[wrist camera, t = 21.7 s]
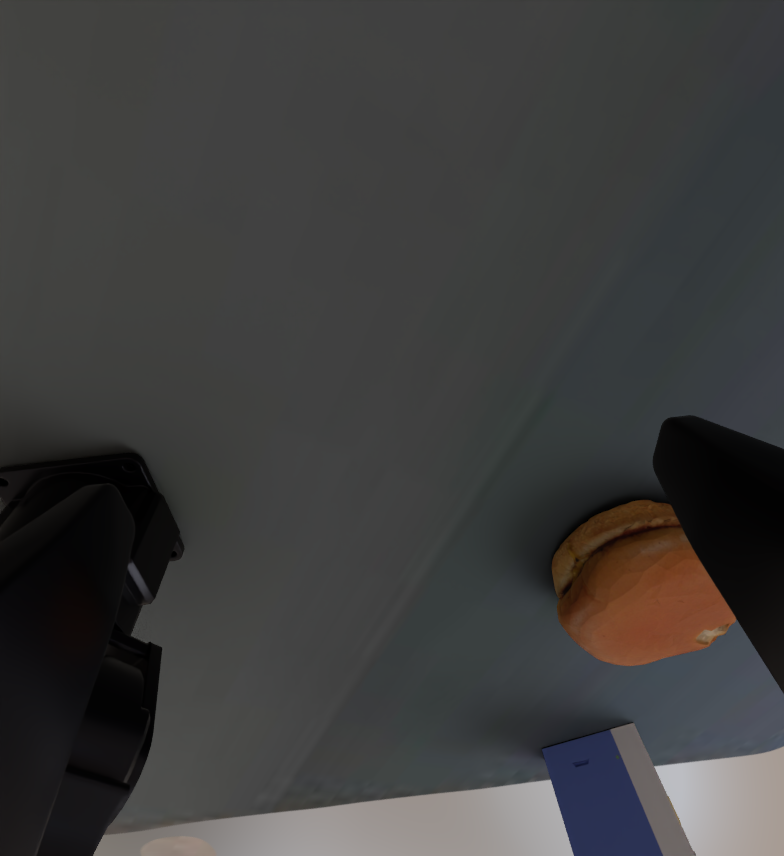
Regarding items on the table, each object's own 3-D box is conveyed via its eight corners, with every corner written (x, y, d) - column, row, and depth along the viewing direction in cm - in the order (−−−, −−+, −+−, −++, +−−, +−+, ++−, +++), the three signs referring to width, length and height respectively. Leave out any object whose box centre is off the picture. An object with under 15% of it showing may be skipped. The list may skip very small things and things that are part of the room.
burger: (573, 491, 25) (615, 563, 21) (738, 495, 26) (806, 564, 22) (525, 612, 31) (551, 687, 27) (663, 611, 32) (707, 682, 28)
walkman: (548, 760, 43) (611, 962, 33) (541, 748, 41) (604, 955, 31) (639, 736, 41) (732, 937, 31) (634, 722, 40) (731, 929, 30)
